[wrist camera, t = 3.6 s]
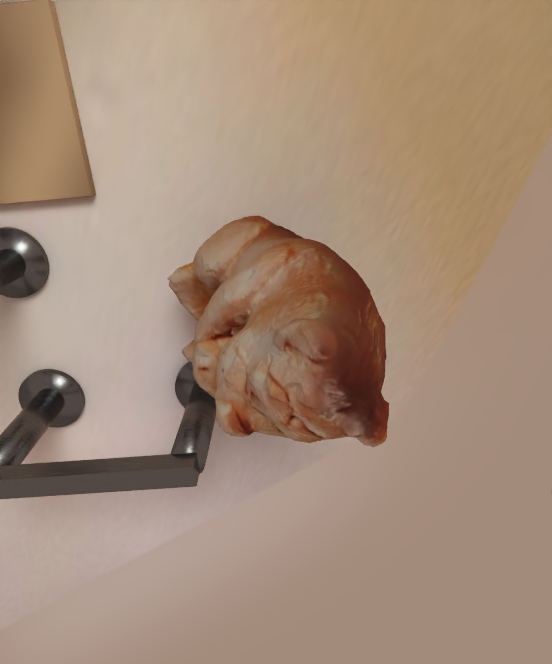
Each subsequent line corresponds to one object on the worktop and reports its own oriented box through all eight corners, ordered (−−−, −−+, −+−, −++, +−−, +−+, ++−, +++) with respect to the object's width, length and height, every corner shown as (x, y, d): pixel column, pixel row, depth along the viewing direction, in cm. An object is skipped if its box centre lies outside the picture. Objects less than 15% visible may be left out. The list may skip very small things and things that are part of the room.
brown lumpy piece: (171, 258, 26) (43, 416, 12) (288, 162, 24) (301, 216, 10) (246, 344, 27) (213, 569, 14) (361, 262, 26) (458, 424, 12)
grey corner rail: (31, 425, 30) (-51, 526, 22) (-32, 230, 25) (-162, 274, 18) (242, 410, 29) (230, 508, 22) (216, 208, 25) (189, 244, 17)
